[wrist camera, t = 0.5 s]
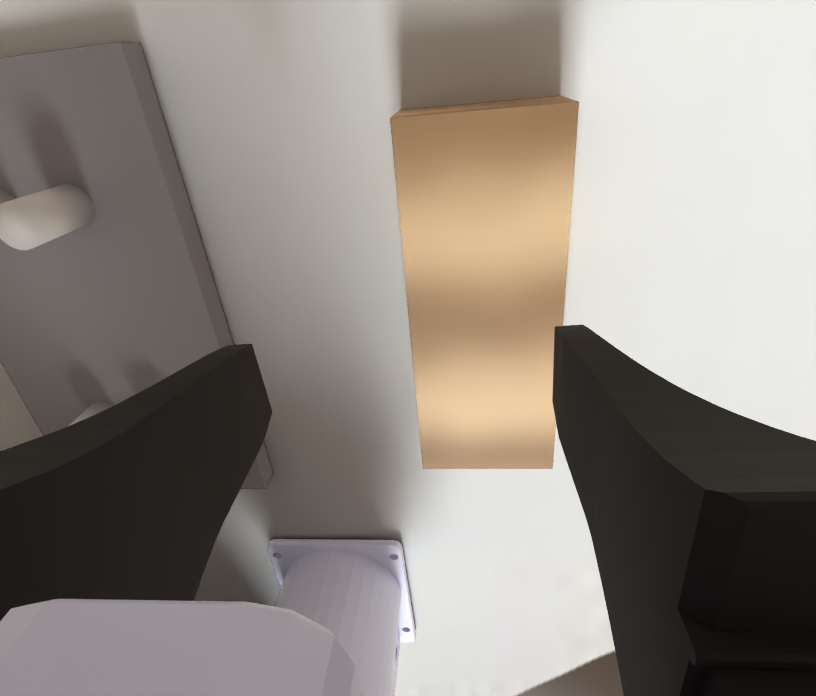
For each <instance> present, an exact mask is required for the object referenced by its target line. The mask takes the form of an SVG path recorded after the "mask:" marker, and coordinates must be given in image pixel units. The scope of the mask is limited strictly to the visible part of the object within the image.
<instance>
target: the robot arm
mask: <svg viewBox="0 0 816 696" xmlns="http://www.w3.org/2000/svg"><path fill="white" fill-rule="evenodd" d="M552 402H553V408H554V413H555V419H556V424H557V429H558V434H559V439H560V442H561V445H562V448H563V451H564V454H565V457H566V460H567V463H568V466H569V469H570V472H571V475H572V478H573V481H574V484H575V486H576V489H577V492H578V495H579V498H580V501H581V504H582V507H583V510H584V513H585V516H586V519H587V522H588V526H589V529H590V533H591V536H592V541H593V545H594V550H595V554H596V559H597V563H598V568H599V572H600V577H601V581H602V586H603V591H604V596H605V601H606V606H607V610H608V615H609V620H610V625H611V630H612V635H613V640H614V646H615V651H616V656H617V661H618V666H619V672H620V677H621V682H622V687H623V693H624V696H816V441H814V440H810V439H807V438H804V437H800V436H797V435H794V434H791V433H788V432H785V431H782V430H779V429H776V428H773V427H770V426H767V425H765V424H762V423H759V422H757V421H754V420H752V419H749V418H746V417H744V416H741V415H738V414H736V413H733V412H731V411H728V410H726V409H724V408H721V407H719V406H717V405H715V404H712V403H710V402H708V401H706V400H704V399H702V398H700V397H698V396H696V395H693V394H691V393H689V392H687V391H685V390H683V389H681V388H680V387H678V386H676V385H674V384H672V383H670V382H669V381H667V380H665V379H664V378H662V377H660V376H658V375H657V374H655V373H653V372H652V371H650V370H648V369H647V368H645V367H644V366H642V365H640V364H639V363H637V362H636V361H634V360H633V359H631V358H630V357H628V356H627V355H625V354H624V353H622V352H621V351H620V350H618V349H617V348H615V347H614V346H612V345H611V344H610V343H608V342H607V341H606V340H604V339H603V338H601V337H600V336H599V335H597V334H596V333H594V332H593V331H592V330H590V329H589V328H587V327H586V326H584V325H571V326H555V332H554V364H553V396H552ZM271 414H272V409H271V406H270V403H269V399H268V396H267V393H266V389H265V386H264V383H263V379H262V376H261V373H260V369H259V366H258V363H257V359H256V356H255V353H254V349H253V346H252V344H242V345H228V346H225V347H223V348H220V349H218V350H216V351H214V352H212V353H210V354H208V355H206V356H204V357H202V358H200V359H199V360H197V361H195V362H193V363H191V364H190V365H188V366H186V367H184V368H183V369H181V370H179V371H177V372H175V373H174V374H172V375H170V376H168V377H167V378H165V379H163V380H161V381H160V382H158V383H156V384H154V385H152V386H150V387H148V388H147V389H145V390H143V391H141V392H139V393H137V394H135V395H133V396H131V397H129V398H128V399H126V400H124V401H122V402H120V403H118V404H116V405H114V406H112V407H110V408H108V409H106V410H104V411H102V412H100V413H97V414H95V415H93V416H91V417H88V418H86V419H84V420H82V421H79V422H77V423H75V424H72V425H70V426H68V427H65V428H63V429H60V430H58V431H55V432H53V433H50V434H47V435H44V436H42V437H39V438H36V439H34V440H31V441H28V442H26V443H23V444H20V445H17V446H15V447H12V448H9V449H6V450H3V451H0V696H394V695H395V685H396V676H397V666H398V657H399V648H400V643H412V642H414V641H415V638H416V631H415V625H414V619H413V612H412V606H411V600H410V593H409V587H408V581H407V574H406V568H405V561H404V555H403V549H402V545H401V543H400V542H398V541H396V540H330V539H273V540H271V541H270V542H269V544H268V546H267V550H268V552H269V555H270V558H271V561H272V564H273V567H274V570H275V572H276V575H277V578H278V581H279V584H280V587H281V589H280V592H279V595H278V598H277V601H276V604H275V607H274V606H269V605H263V604H258V603H252V602H233V601H194V598H195V595H196V592H197V589H198V586H199V583H200V580H201V577H202V575H203V572H204V569H205V567H206V564H207V561H208V559H209V556H210V553H211V550H212V548H213V545H214V542H215V540H216V537H217V535H218V533H219V531H220V529H221V526H222V524H223V522H224V520H225V518H226V516H227V514H228V512H229V510H230V508H231V506H232V504H233V502H234V500H235V498H236V496H237V494H238V492H239V490H240V488H241V486H242V484H243V482H244V480H245V478H246V477H247V475H248V473H249V471H250V469H251V466H252V464H253V462H254V460H255V458H256V456H257V454H258V452H259V450H260V448H261V446H262V443H263V440H264V437H265V434H266V431H267V428H268V425H269V421H270V418H271Z"/></svg>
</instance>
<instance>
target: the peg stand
mask: <svg viewBox="0 0 816 696" xmlns="http://www.w3.org/2000/svg"><path fill="white" fill-rule="evenodd" d="M228 345H234V344H233V341H232V338H231V335H230V331H229V328H228V325H227V322H226V318H225V315H224V312H223V309H222V305H221V302H220V299H219V296H218V292H217V289H216V286H215V283H214V280H213V276H212V273H211V270H210V267H209V263H208V260H207V257H206V254H205V250H204V247H203V244H202V241H201V237H200V234H199V231H198V228H197V224H196V221H195V218H194V215H193V212H192V208H191V205H190V202H189V199H188V195H187V192H186V189H185V186H184V182H183V179H182V176H181V173H180V169H179V166H178V163H177V160H176V157H175V153H174V150H173V147H172V144H171V140H170V137H169V134H168V131H167V127H166V124H165V121H164V118H163V114H162V111H161V108H160V105H159V101H158V98H157V95H156V92H155V89H154V85H153V82H152V79H151V76H150V72H149V69H148V66H147V63H146V59H145V56H144V53H143V50H142V46H141V43H130V42H116V43H109V44H101V45H93V46H86V47H78V48H71V49H63V50H56V51H48V52H41V53H33V54H26V55H18V56H11V57H3V58H0V361H1V363H2V365H3V367H4V368H5V370H6V372H7V374H8V375H9V377H10V379H11V381H12V382H13V384H14V386H15V387H16V389H17V391H18V393H19V394H20V396H21V398H22V400H23V401H24V403H25V405H26V406H27V408H28V410H29V412H30V413H31V415H32V417H33V419H34V420H35V422H36V424H37V425H38V427H39V429H40V431H41V432H42V434H43V436H44V435H47V434H50V433H53V432H55V431H58V430H60V429H63V428H65V427H68V426H70V425H72V424H75V423H77V422H79V421H82V420H84V419H86V418H88V417H91V416H93V415H95V414H97V413H100V412H102V411H104V410H106V409H108V408H110V407H112V406H114V405H116V404H118V403H120V402H122V401H124V400H126V399H128V398H129V397H131V396H133V395H135V394H137V393H139V392H141V391H143V390H145V389H147V388H148V387H150V386H152V385H154V384H156V383H158V382H160V381H161V380H163V379H165V378H167V377H168V376H170V375H172V374H174V373H175V372H177V371H179V370H181V369H183V368H184V367H186V366H188V365H190V364H191V363H193V362H195V361H197V360H199V359H200V358H202V357H204V356H206V355H208V354H210V353H212V352H214V351H216V350H218V349H220V348H223V347H225V346H228ZM272 474H273V470H272V467H271V464H270V461H269V458H268V454H267V451H266V448H265V445H264V441H263V443H262V446H261V448H260V450H259V452H258V454H257V456H256V458H255V460H254V462H253V464H252V466H251V469H250V471H249V473H248V475H247V477H246V478H245V480H244V482H243V484H242V486H241V488H240V489H266V487H267V485H268V483H269V480H270V478H271V476H272Z"/></svg>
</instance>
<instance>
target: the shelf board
mask: <svg viewBox="0 0 816 696" xmlns="http://www.w3.org/2000/svg"><path fill="white" fill-rule="evenodd" d="M578 108H579V102H577V101H575V100H572V99H569V98H566V97H563V96H552V97H541V98H529V99H518V100H507V101H495V102H484V103H473V104H461V105H450V106H439V107H427V108H416V109H404V110H400V111H399V112H398V113H396V114H395V115H394V116H392V117H391V118H390V123H391V134H392V144H393V155H394V166H395V176H396V187H397V197H398V208H399V219H400V229H401V240H402V251H403V261H404V272H405V282H406V293H407V304H408V314H409V325H410V336H411V346H412V357H413V367H414V378H415V389H416V399H417V410H418V420H419V431H420V442H421V452H422V463H423V469H553V455H554V441H555V427H556V419H555V413H554V408H553V402H552V396H553V364H554V332H555V326H563V316H564V302H565V288H566V274H567V260H568V247H569V233H570V219H571V205H572V191H573V177H574V163H575V149H576V136H577V122H578Z"/></svg>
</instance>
